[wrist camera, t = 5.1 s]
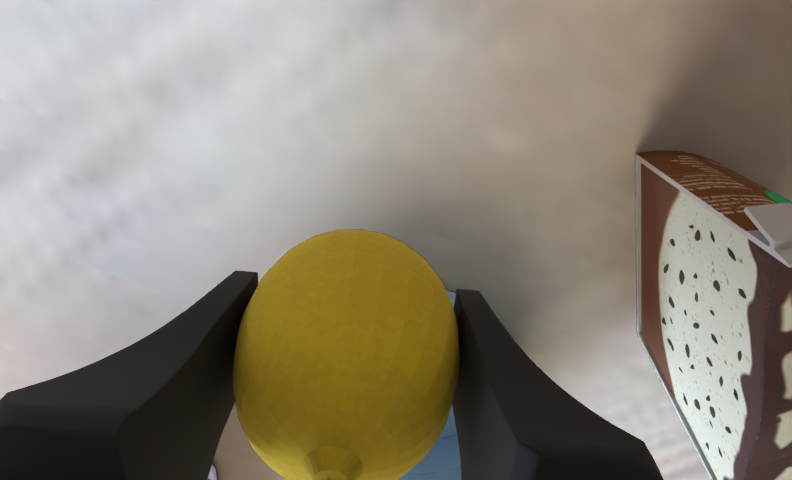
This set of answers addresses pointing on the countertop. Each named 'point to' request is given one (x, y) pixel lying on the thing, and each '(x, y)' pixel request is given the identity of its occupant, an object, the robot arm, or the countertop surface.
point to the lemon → (346, 359)
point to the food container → (718, 309)
